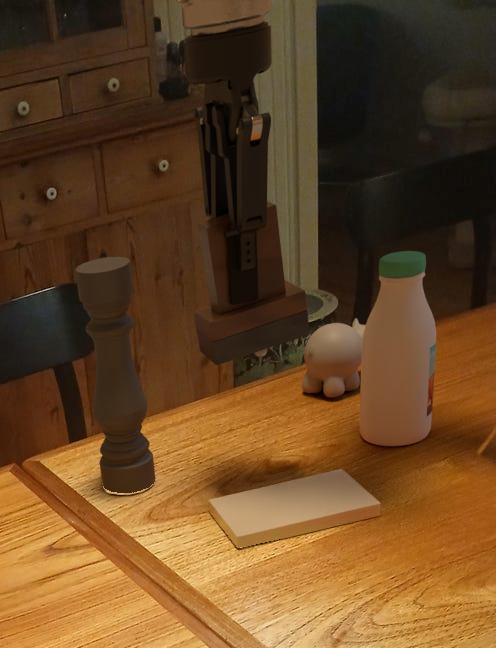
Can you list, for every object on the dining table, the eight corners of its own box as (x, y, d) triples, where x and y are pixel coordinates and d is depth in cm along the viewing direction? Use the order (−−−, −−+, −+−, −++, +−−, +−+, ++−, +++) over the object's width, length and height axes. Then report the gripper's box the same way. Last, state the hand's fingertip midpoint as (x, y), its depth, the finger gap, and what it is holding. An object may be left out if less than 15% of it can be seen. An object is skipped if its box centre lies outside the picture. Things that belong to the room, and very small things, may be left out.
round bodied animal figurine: (401, 375, 127) (404, 309, 123) (333, 405, 123) (334, 338, 119) (358, 364, 133) (360, 300, 128) (292, 393, 129) (291, 328, 124)
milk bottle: (416, 451, 109) (427, 267, 98) (348, 443, 114) (352, 266, 103) (440, 423, 114) (453, 245, 103) (373, 417, 118) (379, 245, 107)
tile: (341, 480, 107) (342, 468, 106) (380, 515, 99) (381, 502, 98) (208, 512, 106) (207, 499, 105) (237, 549, 99) (237, 536, 98)
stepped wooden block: (289, 321, 104) (275, 193, 97) (309, 334, 100) (296, 201, 92) (200, 351, 104) (179, 225, 97) (216, 365, 100) (195, 235, 92)
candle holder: (153, 468, 117) (130, 252, 104) (157, 491, 112) (134, 267, 98) (101, 476, 118) (72, 262, 104) (103, 499, 113) (73, 277, 99)
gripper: (158, 33, 92) (177, 287, 105) (216, 36, 79) (230, 325, 92) (234, 17, 93) (244, 272, 106) (305, 17, 80) (306, 308, 93)
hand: (238, 296), depth 99 cm, fingers closed on stepped wooden block, 3 cm apart
